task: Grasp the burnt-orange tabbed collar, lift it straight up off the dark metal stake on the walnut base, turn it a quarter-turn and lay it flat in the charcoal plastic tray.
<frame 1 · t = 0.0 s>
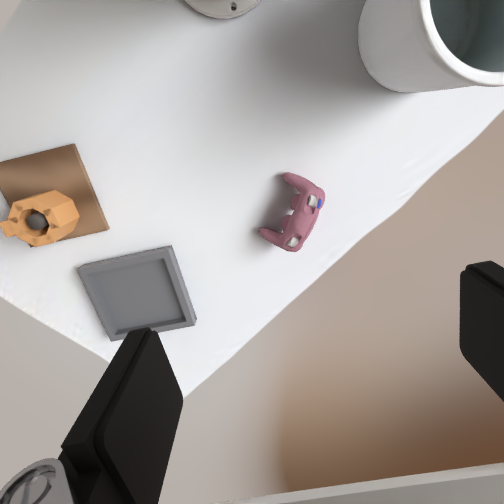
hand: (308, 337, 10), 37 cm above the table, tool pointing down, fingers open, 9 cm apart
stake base: (53, 197, 46), on the table
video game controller: (288, 208, 46), on the table
collar: (56, 212, 46), point 1 cm above the table, touching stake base
tray: (142, 292, 51), on the table
utensil holder: (413, 29, 38), on the table
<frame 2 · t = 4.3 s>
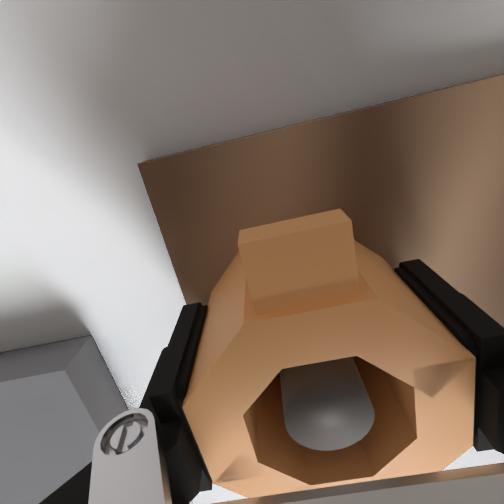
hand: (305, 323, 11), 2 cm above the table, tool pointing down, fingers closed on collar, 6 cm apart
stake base: (350, 284, 12), on the table
collar: (300, 305, 12), point 1 cm above the table, touching gripper, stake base
tray: (26, 472, 16), on the table
when the fingers open (3 cm above the table, at t = 11.6 s): collar drops 1 cm, resting on tray.
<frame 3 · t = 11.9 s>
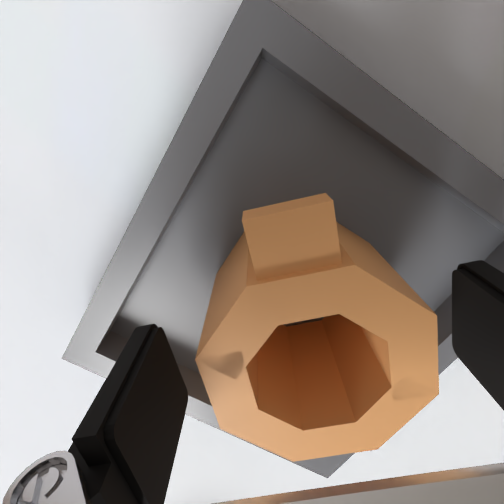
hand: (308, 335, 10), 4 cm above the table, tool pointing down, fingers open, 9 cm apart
collar: (296, 286, 13), point 1 cm above the table, touching tray
tray: (294, 279, 14), on the table
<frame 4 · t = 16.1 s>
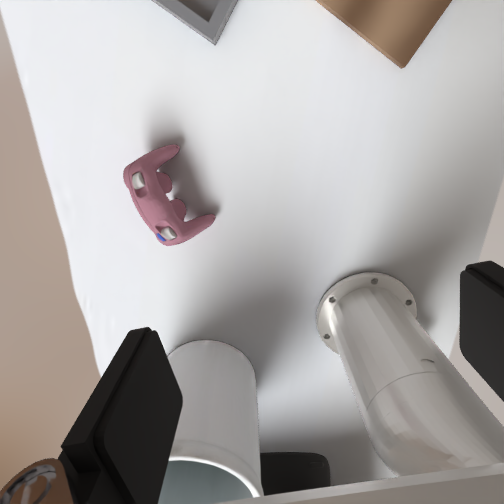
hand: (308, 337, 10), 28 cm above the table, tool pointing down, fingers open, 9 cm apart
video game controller: (176, 192, 37), on the table
portable electronic device stand: (260, 497, 57), on the table
utensil holder: (209, 376, 47), on the table
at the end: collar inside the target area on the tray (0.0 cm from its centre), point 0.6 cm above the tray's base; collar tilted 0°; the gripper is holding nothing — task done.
